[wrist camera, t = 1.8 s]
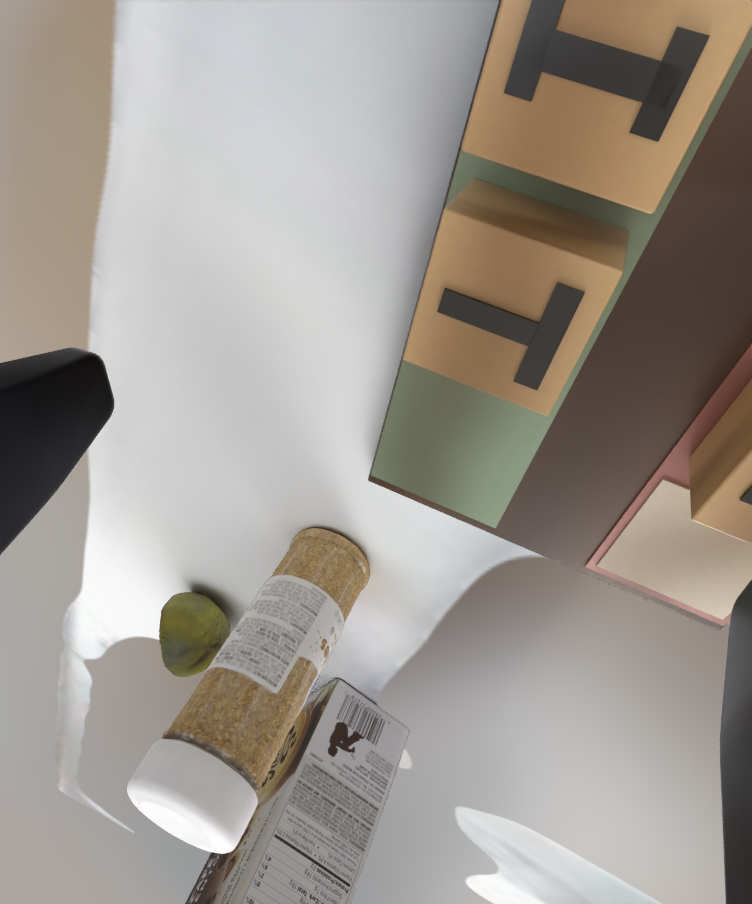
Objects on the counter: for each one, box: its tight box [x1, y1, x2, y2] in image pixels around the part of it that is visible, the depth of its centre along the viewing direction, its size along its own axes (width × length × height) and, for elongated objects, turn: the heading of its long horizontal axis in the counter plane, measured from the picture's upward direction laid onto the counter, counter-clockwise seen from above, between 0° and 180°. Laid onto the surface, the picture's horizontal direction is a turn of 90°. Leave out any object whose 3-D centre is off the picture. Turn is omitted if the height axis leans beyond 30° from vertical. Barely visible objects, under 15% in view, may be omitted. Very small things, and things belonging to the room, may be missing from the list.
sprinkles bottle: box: [127, 528, 370, 854], centre depth 26 cm, size 5×5×13 cm
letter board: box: [368, 0, 752, 631], centre depth 17 cm, size 15×22×1 cm
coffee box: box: [185, 679, 409, 904], centre depth 36 cm, size 9×6×16 cm
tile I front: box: [462, 0, 752, 214], centre depth 13 cm, size 4×4×3 cm
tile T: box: [403, 178, 629, 416], centre depth 17 cm, size 4×4×3 cm
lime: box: [159, 592, 230, 677], centre depth 37 cm, size 4×5×5 cm
